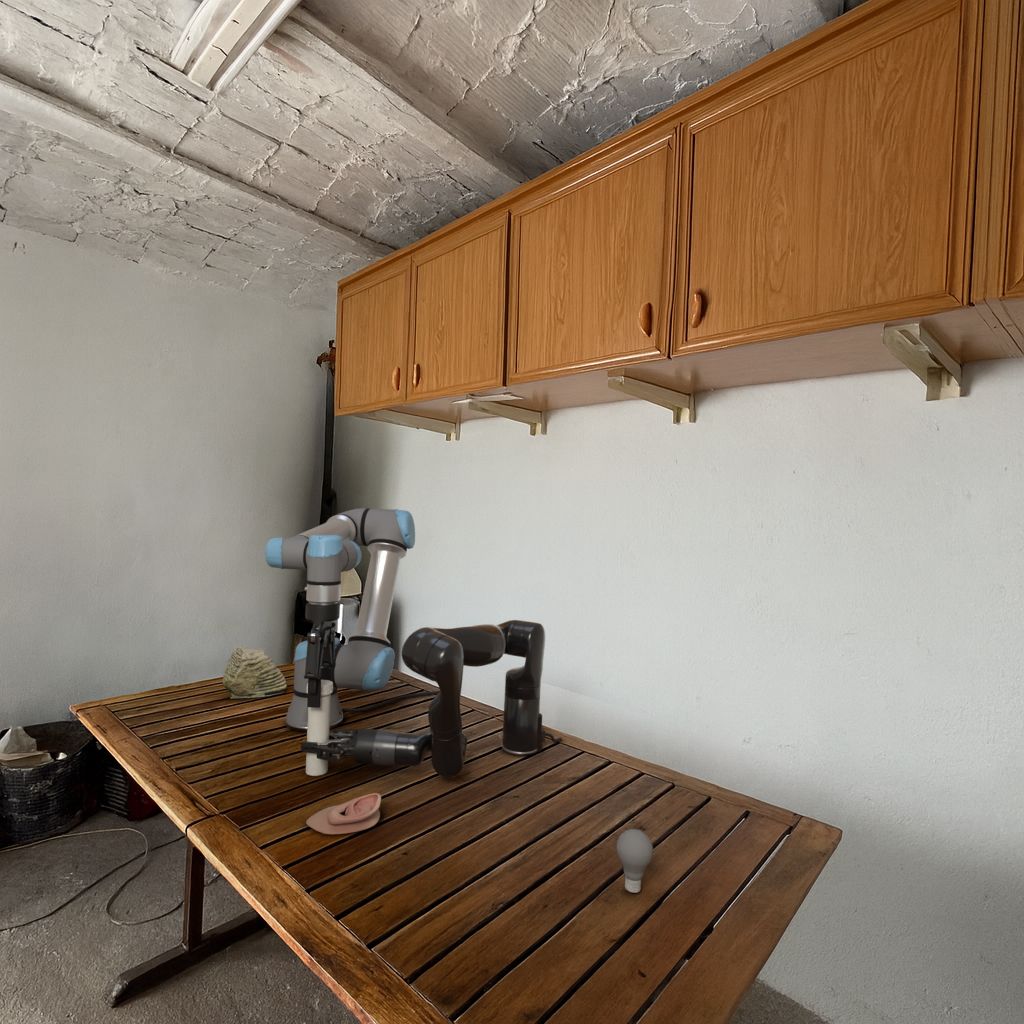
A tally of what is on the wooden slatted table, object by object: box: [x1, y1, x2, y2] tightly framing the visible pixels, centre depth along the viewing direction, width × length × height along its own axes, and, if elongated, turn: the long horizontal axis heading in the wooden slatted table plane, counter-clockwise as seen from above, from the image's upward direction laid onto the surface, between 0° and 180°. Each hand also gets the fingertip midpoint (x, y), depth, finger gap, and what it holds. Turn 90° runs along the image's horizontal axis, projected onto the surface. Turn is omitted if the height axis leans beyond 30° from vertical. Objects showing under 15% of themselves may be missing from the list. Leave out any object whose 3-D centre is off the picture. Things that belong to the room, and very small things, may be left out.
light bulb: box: [615, 828, 654, 894], centre depth 106 cm, size 6×6×10 cm
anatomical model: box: [305, 792, 382, 835], centre depth 124 cm, size 13×4×12 cm
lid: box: [307, 680, 333, 696], centre depth 146 cm, size 6×6×2 cm
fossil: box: [222, 646, 288, 699], centre depth 198 cm, size 9×18×15 cm, turn 132°
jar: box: [305, 694, 331, 777], centre depth 146 cm, size 5×5×20 cm
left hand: (319, 701), depth 146 cm, fingers open, 7 cm apart
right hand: (306, 742), depth 146 cm, fingers closed on jar, 5 cm apart
